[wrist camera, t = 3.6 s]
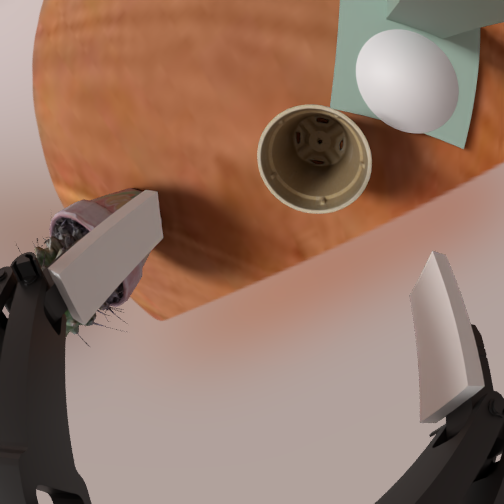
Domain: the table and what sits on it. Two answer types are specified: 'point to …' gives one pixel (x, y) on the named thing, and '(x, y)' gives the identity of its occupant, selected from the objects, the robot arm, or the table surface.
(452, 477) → the robot arm
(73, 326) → the potted plant
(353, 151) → the flower pot
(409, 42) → the press
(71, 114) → the table surface
